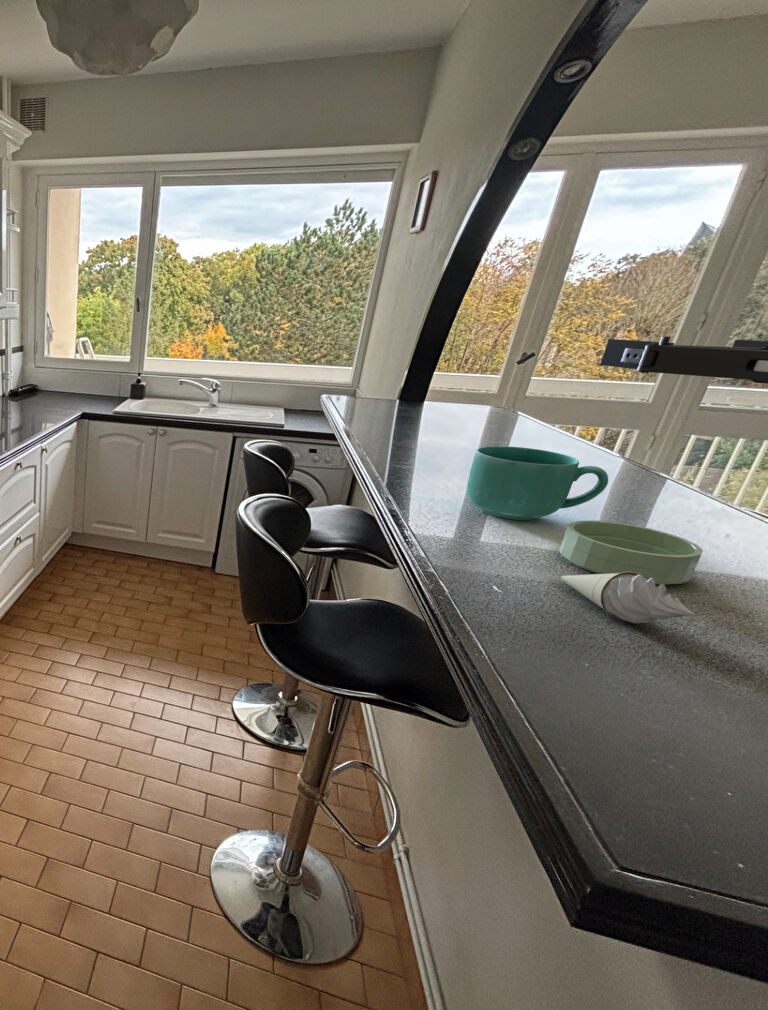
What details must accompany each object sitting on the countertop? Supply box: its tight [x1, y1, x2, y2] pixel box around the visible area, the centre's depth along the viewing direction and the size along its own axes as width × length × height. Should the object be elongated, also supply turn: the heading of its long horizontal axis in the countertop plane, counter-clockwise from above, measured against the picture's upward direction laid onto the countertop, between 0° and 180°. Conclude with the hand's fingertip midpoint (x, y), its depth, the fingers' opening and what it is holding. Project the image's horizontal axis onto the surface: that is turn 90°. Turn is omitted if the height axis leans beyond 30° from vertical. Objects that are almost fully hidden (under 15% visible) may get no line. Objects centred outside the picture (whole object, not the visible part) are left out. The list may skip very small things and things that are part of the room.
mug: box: [466, 445, 609, 521], centre depth 91 cm, size 17×13×10 cm
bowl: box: [559, 520, 704, 586], centre depth 74 cm, size 12×12×4 cm
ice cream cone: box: [560, 572, 696, 624], centre depth 62 cm, size 5×5×15 cm
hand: (669, 352), depth 64 cm, fingers open, 13 cm apart
